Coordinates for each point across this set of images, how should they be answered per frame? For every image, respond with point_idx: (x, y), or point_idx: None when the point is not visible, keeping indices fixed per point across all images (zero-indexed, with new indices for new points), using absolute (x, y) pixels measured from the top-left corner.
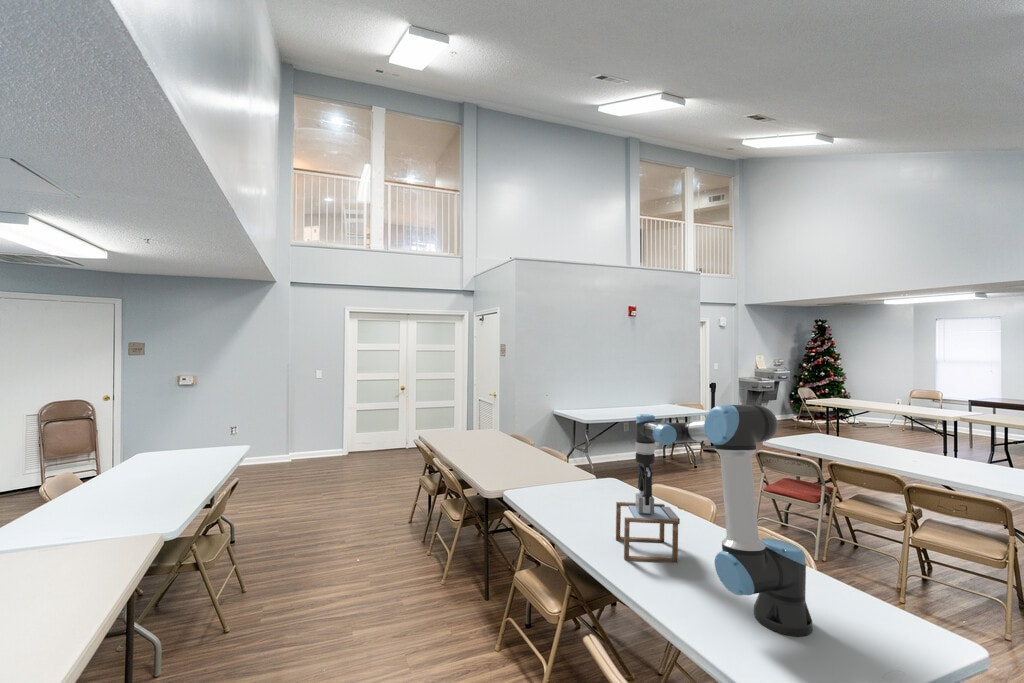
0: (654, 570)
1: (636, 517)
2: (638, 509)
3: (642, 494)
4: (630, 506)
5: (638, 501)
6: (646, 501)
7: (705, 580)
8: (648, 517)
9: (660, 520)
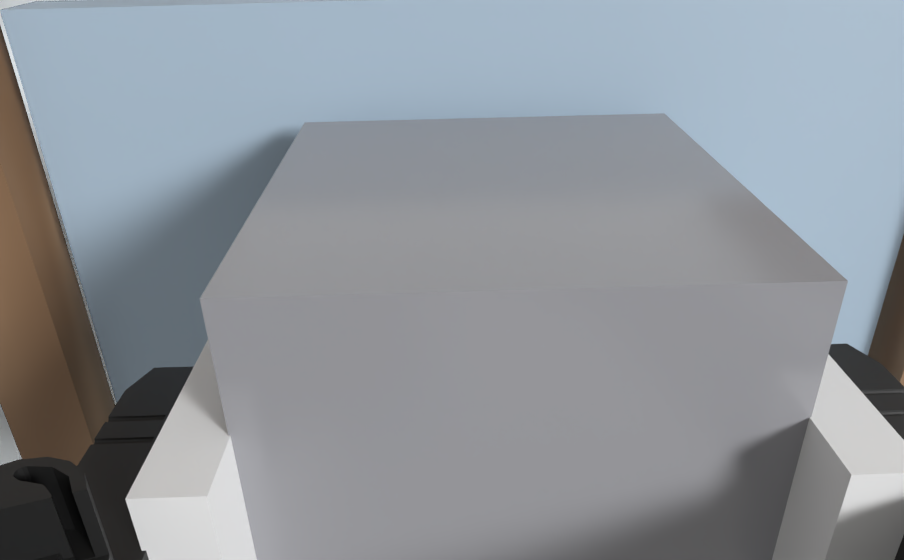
0: (21, 93)
1: (117, 23)
2: (324, 143)
3: (686, 486)
4: (889, 20)
5: (306, 225)
6: (97, 463)
7: (4, 432)
8: (198, 279)
9: (16, 443)
